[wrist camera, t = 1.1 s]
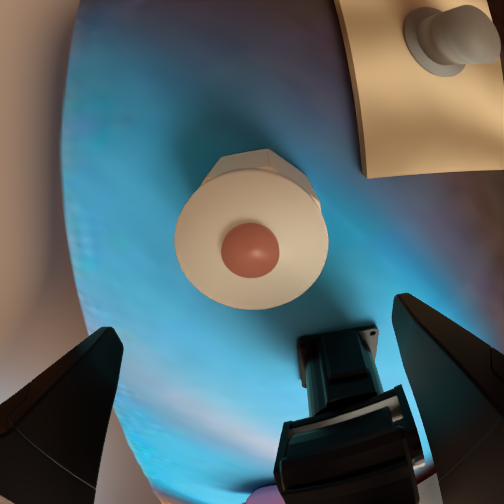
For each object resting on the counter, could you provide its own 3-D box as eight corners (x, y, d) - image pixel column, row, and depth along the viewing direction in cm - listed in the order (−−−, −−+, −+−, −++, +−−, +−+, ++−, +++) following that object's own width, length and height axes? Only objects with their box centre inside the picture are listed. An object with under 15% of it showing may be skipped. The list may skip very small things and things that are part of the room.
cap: (316, 246, 19) (333, 304, 13) (213, 261, 19) (196, 321, 14) (303, 141, 15) (322, 162, 10) (187, 162, 16) (152, 193, 11)
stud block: (497, 165, 15) (545, 190, 10) (362, 174, 16) (396, 205, 12) (462, -42, 7) (503, -60, 3) (311, -68, 9) (325, -112, 4)
